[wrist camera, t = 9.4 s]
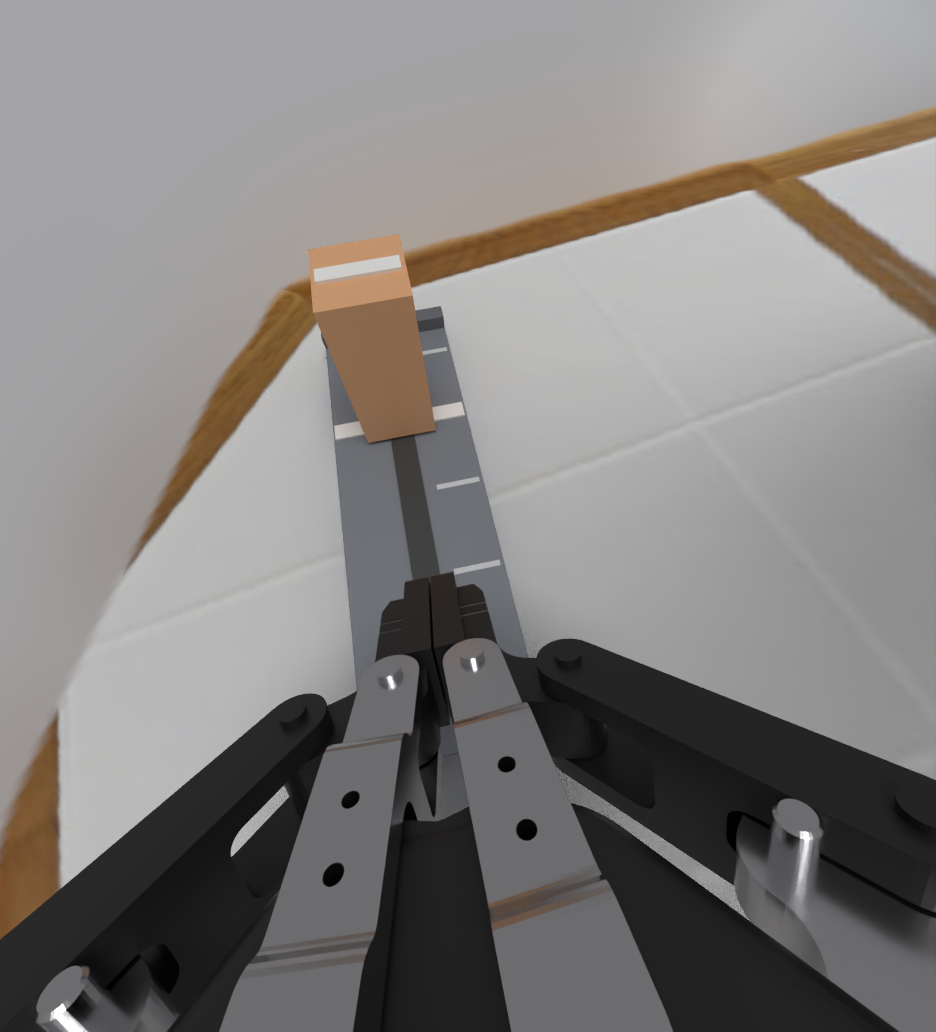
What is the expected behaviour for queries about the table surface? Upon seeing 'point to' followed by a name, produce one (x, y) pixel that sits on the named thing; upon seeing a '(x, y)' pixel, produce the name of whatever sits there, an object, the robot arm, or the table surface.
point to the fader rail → (417, 509)
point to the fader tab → (373, 334)
